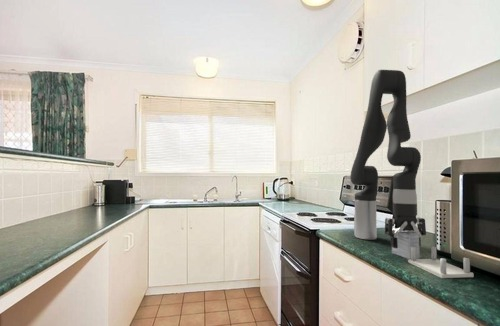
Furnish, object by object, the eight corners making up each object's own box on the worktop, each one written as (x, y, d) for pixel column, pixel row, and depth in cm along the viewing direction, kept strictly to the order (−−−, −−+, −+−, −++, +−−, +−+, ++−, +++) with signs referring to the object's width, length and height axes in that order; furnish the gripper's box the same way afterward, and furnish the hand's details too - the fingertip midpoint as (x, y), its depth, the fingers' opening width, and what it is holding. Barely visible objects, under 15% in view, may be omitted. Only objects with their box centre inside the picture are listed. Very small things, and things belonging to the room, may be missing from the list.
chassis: (408, 262, 85) (407, 247, 85) (435, 261, 86) (435, 246, 86) (441, 278, 72) (441, 260, 72) (473, 276, 73) (473, 259, 73)
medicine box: (420, 259, 89) (419, 233, 89) (410, 260, 87) (409, 234, 88) (400, 252, 96) (400, 229, 97) (391, 253, 95) (391, 229, 95)
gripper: (414, 201, 97) (415, 244, 96) (379, 200, 96) (380, 245, 95) (431, 203, 90) (432, 250, 89) (393, 202, 88) (394, 250, 87)
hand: (405, 247), depth 92 cm, fingers open, 8 cm apart
